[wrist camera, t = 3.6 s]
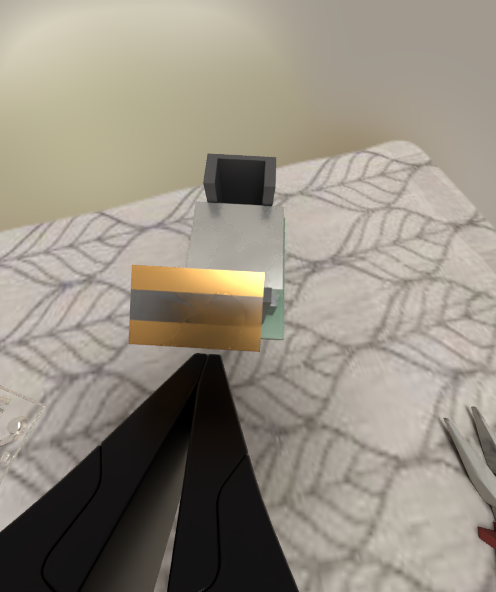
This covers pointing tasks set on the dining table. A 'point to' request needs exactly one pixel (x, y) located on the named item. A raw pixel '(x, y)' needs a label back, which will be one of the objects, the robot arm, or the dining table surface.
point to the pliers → (480, 467)
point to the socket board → (248, 191)
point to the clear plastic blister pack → (15, 427)
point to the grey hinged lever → (196, 308)
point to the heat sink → (239, 241)
